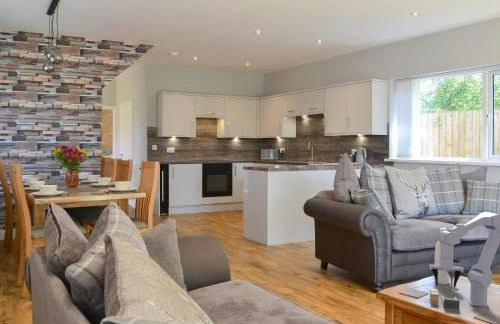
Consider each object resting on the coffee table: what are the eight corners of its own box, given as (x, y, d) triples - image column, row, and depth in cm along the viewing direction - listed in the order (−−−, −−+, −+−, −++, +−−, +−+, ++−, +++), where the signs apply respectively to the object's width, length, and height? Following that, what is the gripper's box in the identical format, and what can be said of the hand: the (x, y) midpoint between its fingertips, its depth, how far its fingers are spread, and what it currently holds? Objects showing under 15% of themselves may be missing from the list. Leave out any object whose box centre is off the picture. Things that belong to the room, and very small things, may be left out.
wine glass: (462, 291, 243) (463, 262, 243) (446, 290, 243) (447, 262, 243) (455, 286, 251) (456, 258, 251) (440, 286, 251) (441, 258, 251)
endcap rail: (441, 298, 230) (441, 289, 230) (455, 300, 228) (456, 290, 228) (444, 309, 215) (444, 299, 215) (459, 310, 213) (459, 300, 213)
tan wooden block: (429, 298, 230) (430, 288, 230) (436, 299, 230) (437, 289, 229) (430, 304, 222) (431, 293, 222) (438, 305, 221) (438, 294, 221)
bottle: (450, 284, 254) (452, 229, 253) (435, 283, 256) (437, 229, 255) (447, 280, 262) (449, 227, 261) (432, 279, 264) (434, 226, 263)
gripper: (430, 257, 217) (429, 286, 217) (464, 260, 212) (463, 290, 213) (429, 254, 223) (428, 282, 224) (462, 257, 219) (461, 285, 220)
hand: (445, 285), depth 219 cm, fingers open, 7 cm apart
